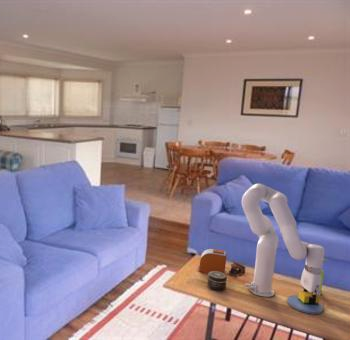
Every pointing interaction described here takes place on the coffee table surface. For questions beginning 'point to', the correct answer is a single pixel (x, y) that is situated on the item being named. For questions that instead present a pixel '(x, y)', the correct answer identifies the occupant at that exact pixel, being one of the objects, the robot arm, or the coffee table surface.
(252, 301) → the coffee table surface
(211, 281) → the jar
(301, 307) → the plate
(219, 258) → the brown toaster
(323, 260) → the soap dispenser
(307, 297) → the sponge
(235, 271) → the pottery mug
